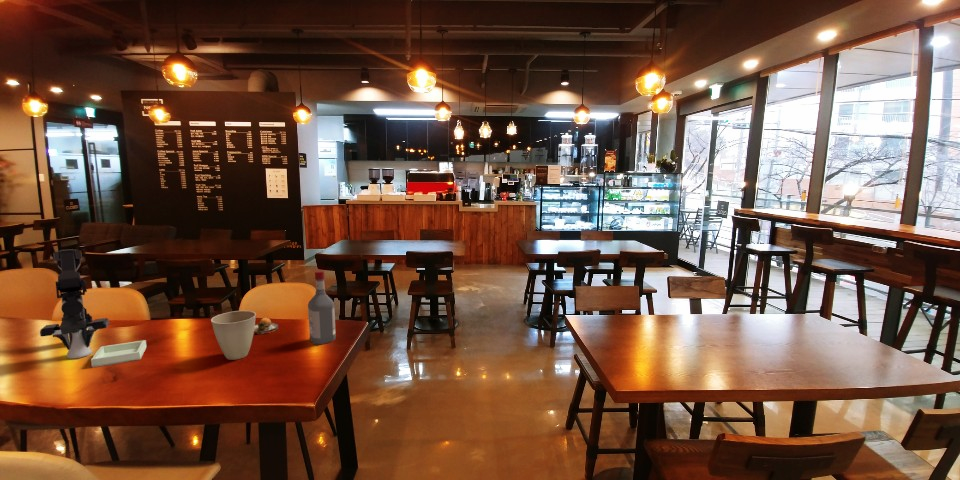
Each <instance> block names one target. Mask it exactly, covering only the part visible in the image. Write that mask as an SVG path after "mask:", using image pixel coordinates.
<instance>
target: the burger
mask: <svg viewBox="0 0 960 480" xmlns="http://www.w3.org/2000/svg"><path fill="white" fill-rule="evenodd" d="M277 330H279V324H278V323H277V322H276V323H275V322H272V321H271V319H270V318H269V317H264V318H261V319H260V322H259V323H257V324H255V328H254V334H253V335H256V334H257V335H259V334H261V335H264V334H272V333H274V332H275V331H277ZM271 332H272V333H271Z"/></svg>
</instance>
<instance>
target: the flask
mask: <svg viewBox="0 0 960 480" xmlns="http://www.w3.org/2000/svg"><path fill="white" fill-rule="evenodd" d="M93 353H94V352H93V351H92V349H91V348H90V346H89V347H87V344H86V342H85V341H84V339H83V336H82V330H79V332H77V333H72V342H71V345H70V349H69V350H68V352H67V354H66V358H67V359H69V360H72V359H80V358H84V357H87V356H90V355H92V354H93Z"/></svg>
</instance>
